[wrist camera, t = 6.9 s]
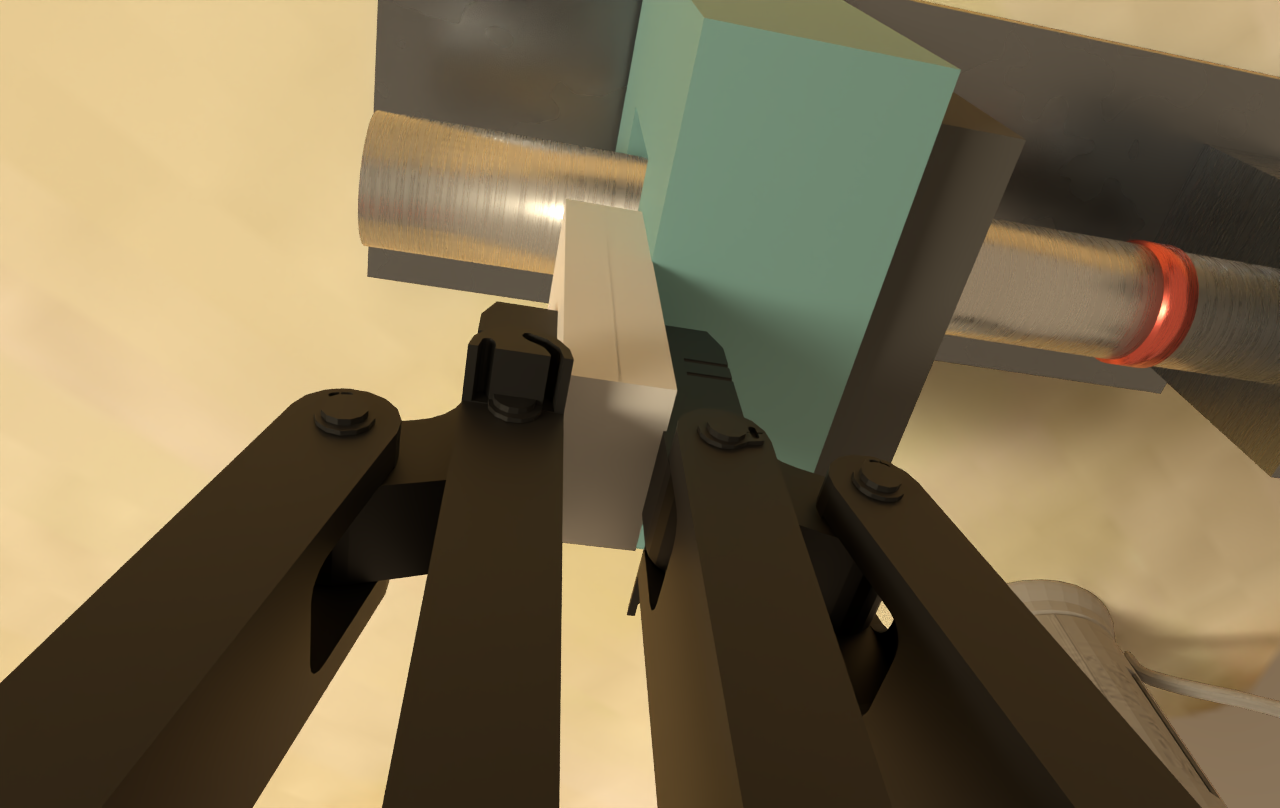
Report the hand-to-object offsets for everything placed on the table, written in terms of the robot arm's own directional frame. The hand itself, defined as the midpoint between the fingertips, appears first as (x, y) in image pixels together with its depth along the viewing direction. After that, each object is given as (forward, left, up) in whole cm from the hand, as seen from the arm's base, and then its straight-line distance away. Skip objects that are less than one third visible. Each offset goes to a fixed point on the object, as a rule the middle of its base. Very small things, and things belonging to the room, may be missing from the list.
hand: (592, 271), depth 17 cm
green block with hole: (+3, 0, -8) cm, 8 cm away
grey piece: (+7, 0, -9) cm, 12 cm away
